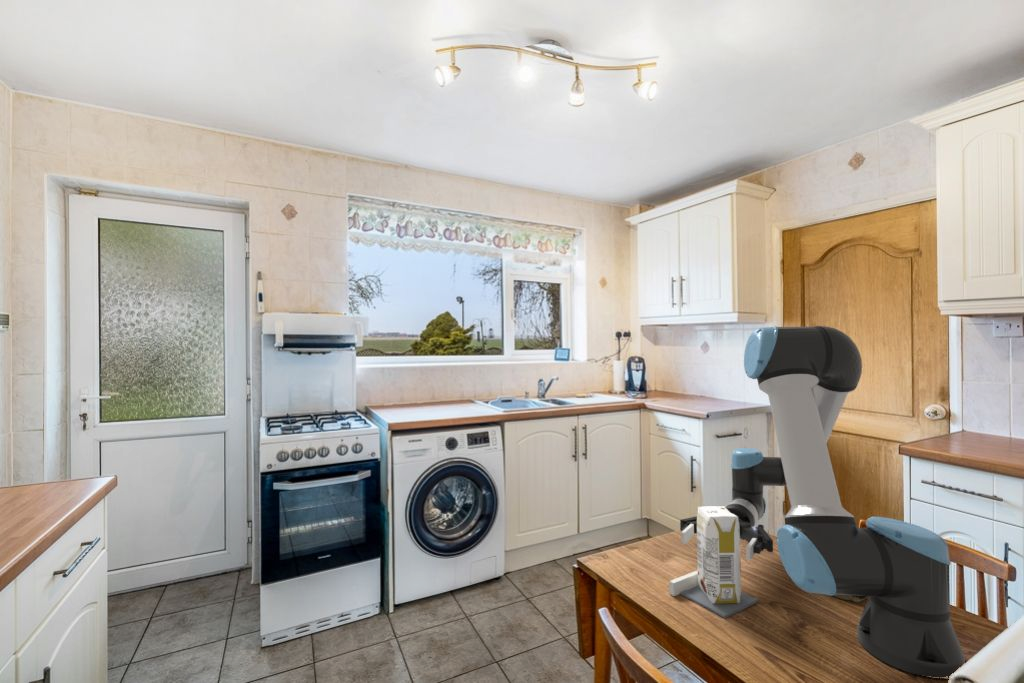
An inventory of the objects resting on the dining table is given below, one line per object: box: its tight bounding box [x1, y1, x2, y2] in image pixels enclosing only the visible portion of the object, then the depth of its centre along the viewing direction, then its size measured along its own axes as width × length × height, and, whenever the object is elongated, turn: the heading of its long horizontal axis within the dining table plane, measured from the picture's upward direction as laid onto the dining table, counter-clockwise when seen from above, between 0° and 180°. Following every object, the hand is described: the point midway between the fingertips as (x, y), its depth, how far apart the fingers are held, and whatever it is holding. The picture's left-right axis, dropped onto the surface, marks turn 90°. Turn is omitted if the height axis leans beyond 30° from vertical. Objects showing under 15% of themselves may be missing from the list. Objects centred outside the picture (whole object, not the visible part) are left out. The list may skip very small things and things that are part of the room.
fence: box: [668, 569, 699, 597], centre depth 112 cm, size 1×16×3 cm, turn 121°
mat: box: [680, 586, 759, 619], centre depth 106 cm, size 11×12×1 cm
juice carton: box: [696, 505, 742, 604], centre depth 106 cm, size 8×9×19 cm
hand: (714, 546), depth 104 cm, fingers open, 13 cm apart
